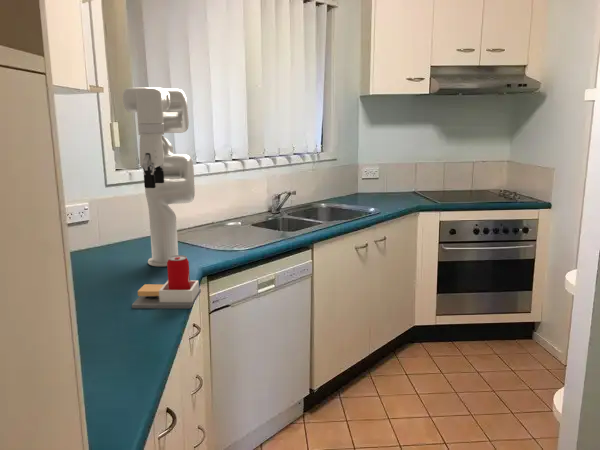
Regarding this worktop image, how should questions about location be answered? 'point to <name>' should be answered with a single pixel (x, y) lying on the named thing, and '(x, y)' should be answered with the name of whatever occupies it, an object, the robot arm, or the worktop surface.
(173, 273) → the beverage can
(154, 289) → the tan flat square block
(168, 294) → the grey tray with holder
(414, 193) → the worktop surface
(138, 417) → the worktop surface
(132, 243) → the worktop surface
